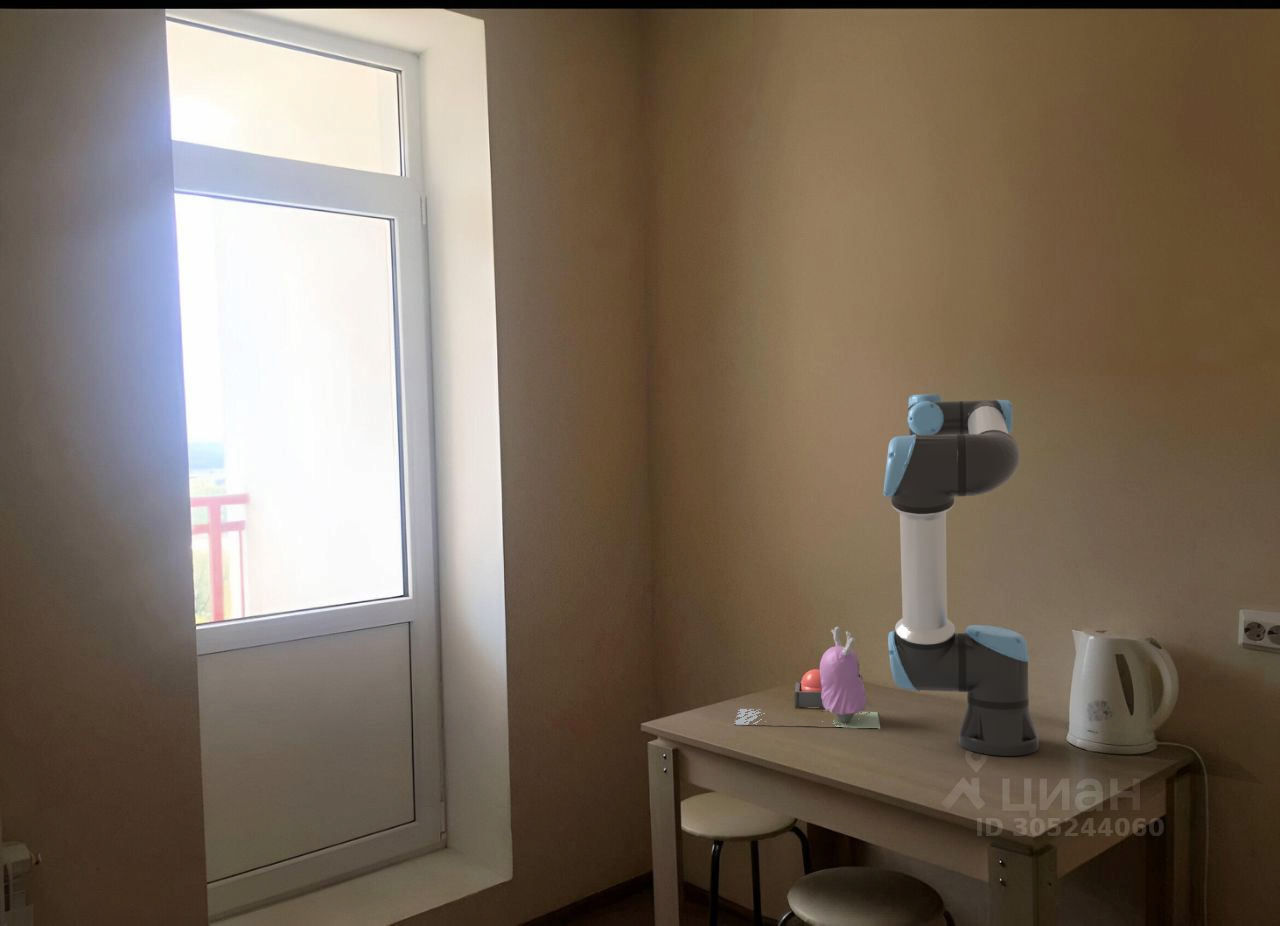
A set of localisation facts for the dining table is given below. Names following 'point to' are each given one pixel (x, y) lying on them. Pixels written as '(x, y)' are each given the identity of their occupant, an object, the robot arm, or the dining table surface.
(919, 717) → the dining table surface
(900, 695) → the dining table surface
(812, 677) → the dome button
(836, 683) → the toy character
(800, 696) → the dome housing
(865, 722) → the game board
